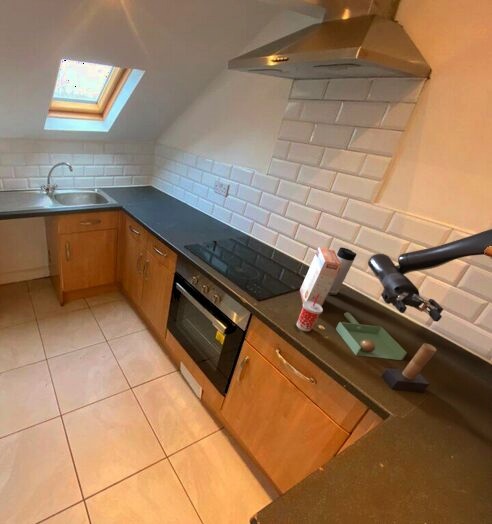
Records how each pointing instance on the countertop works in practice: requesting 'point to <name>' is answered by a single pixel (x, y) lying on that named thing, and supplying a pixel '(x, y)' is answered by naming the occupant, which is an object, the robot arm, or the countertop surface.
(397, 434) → the countertop surface
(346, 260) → the travel mug
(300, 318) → the beverage cup
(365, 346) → the cork ball
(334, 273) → the cracker box
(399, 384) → the brush
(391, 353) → the dustpan
